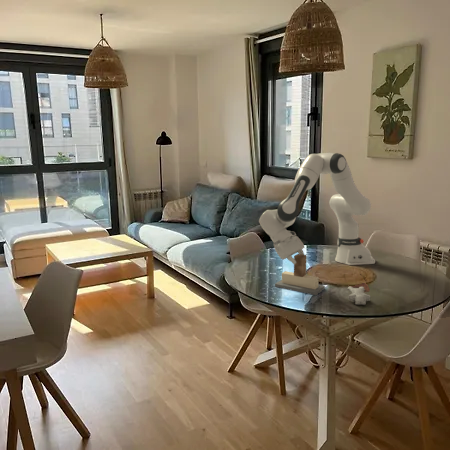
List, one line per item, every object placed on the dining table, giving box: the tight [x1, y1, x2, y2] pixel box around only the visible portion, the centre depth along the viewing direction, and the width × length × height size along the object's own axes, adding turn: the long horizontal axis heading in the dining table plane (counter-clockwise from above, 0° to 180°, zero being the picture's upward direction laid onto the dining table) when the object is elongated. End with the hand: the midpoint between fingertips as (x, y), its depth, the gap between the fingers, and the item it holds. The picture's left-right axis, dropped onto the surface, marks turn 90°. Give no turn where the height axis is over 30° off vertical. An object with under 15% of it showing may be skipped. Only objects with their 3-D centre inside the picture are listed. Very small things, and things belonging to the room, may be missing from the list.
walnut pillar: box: [293, 253, 307, 277], centre depth 216 cm, size 4×4×10 cm
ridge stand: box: [274, 270, 326, 296], centre depth 218 cm, size 22×10×6 cm, turn 54°
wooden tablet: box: [351, 283, 370, 293], centre depth 224 cm, size 26×2×10 cm
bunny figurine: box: [347, 285, 371, 306], centre depth 201 cm, size 10×5×15 cm
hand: (300, 260), depth 215 cm, fingers open, 8 cm apart
